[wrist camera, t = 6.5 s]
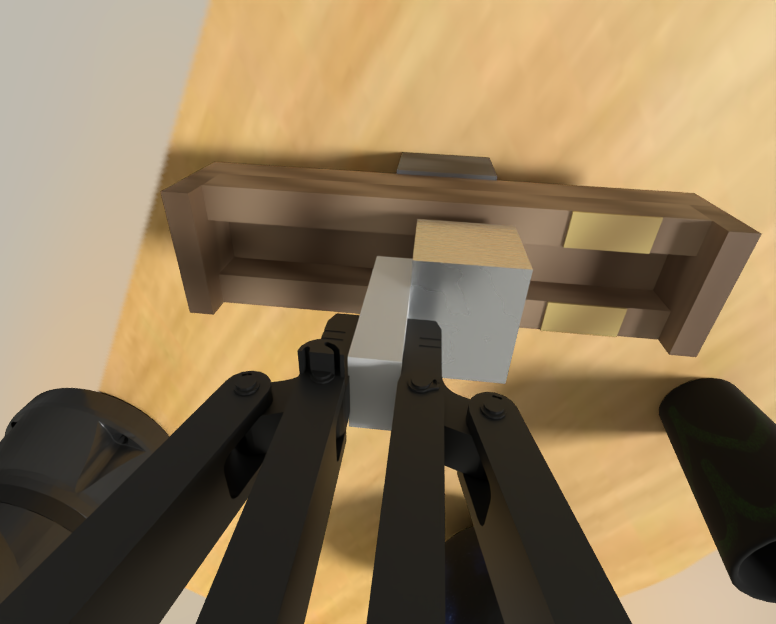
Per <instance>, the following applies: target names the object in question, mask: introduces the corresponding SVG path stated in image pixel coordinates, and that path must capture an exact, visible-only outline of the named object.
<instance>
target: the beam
mask: <svg viewBox="0 0 776 624" xmlns="http://www.w3.org/2000/svg"><path fill="white" fill-rule="evenodd" d="M161 196H162V200H163V204H164V208H165V212H166V216H167V220H168V224H169V228H170V232H171V237H172V241H173V245H174V249H175V253H176V257H177V261H178V265H179V269H180V274H181V278H182V282H183V286H184V290H185V294H186V298H187V302H188V306H189V310H190V312H191V313H202V314H213V315H214V313H215V312H216V311H217V310H218V309H219V307H220V306H221V305H222V304H223V302H229V303H241V304H252V305H264V306H276V307H287V308H299V309H311V310H322V311H334V312H345V313H357V314H360V313H361V309H362V306H363V302H364V299H365V296H366V292H367V289H368V285H369V282H370V278H371V275H372V272H373V268H374V265H375V261H376V258H377V256H383V257H396V258H409V259H413V253H414V244H415V236H416V227H417V219H425V220H439V221H453V222H467V223H481V224H495V225H509V226H515V227H516V229H517V232H518V234H519V237H520V239H521V242H522V244H523V247H524V249H525V251H526V254H527V256H528V259H529V261H530V264H531V266H532V269H533V272H532V276H531V280H530V284H529V288H528V292H527V296H526V301H525V305H524V309H523V313H522V317H521V321H520V325H519V328H531V329H540V330H541V331H550V332H562V333H573V334H585V335H597V336H608V337H617V336H624V337H636V338H647V339H658V340H659V341H660V343H661V344H662V345H663V347H664V348H665V350H666V351H667V352H668V354H669V355H679V356H690V357H697V355H698V353H699V351H700V349H701V347H702V345H703V344H704V342H705V340H706V338H707V336H708V334H709V332H710V330H711V328H712V327H713V325H714V323H715V321H716V319H717V317H718V315H719V313H720V311H721V310H722V308H723V306H724V304H725V302H726V300H727V298H728V296H729V295H730V293H731V291H732V289H733V287H734V285H735V283H736V281H737V279H738V278H739V276H740V274H741V272H742V270H743V268H744V266H745V264H746V263H747V261H748V259H749V257H750V255H751V253H752V251H753V249H754V247H755V246H756V244H757V242H758V240H759V238H760V236H761V233H759V232H758V231H756V230H754V229H753V228H751V227H750V226H748V225H746V224H745V223H743V222H741V221H740V220H738V219H736V218H735V217H733V216H731V215H730V214H728V213H726V212H725V211H723V210H721V209H720V208H718V207H716V206H715V205H713V204H711V203H710V202H708V201H707V200H705V199H703V198H702V197H700V196H698V195H697V194H695V193H683V192H668V191H652V190H637V189H622V188H607V187H591V186H576V185H561V184H545V183H530V182H515V181H500V180H497V174H496V172H495V170H494V167H493V165H492V163H491V160H490V158H487V157H471V156H455V155H439V154H423V153H407V152H402V155H401V158H400V162H399V165H398V168H397V174H393V173H377V172H362V171H347V170H331V169H316V168H301V167H286V166H270V165H255V164H240V163H225V162H213V163H212V164H210V165H208V166H206V167H204V168H202V169H201V170H199V171H197V172H195V173H193V174H192V175H190V176H188V177H186V178H184V179H182V180H181V181H179V182H177V183H175V184H173V185H171V186H170V187H168V188H166V189H164V190H162V191H161Z"/></svg>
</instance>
